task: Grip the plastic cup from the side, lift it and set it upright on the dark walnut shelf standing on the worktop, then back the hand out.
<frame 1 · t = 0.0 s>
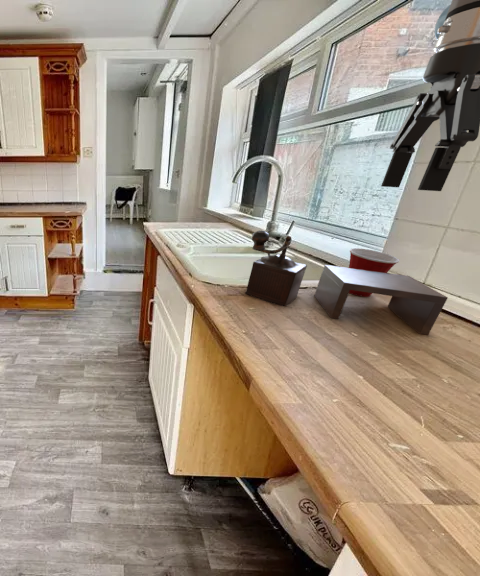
hand: (407, 188, 57), 29 cm above the countertop, tool pointing down, fingers open, 13 cm apart
plastic cup: (358, 294, 88), on the countertop
shelf: (364, 313, 76), on the countertop
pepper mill: (266, 298, 82), on the countertop
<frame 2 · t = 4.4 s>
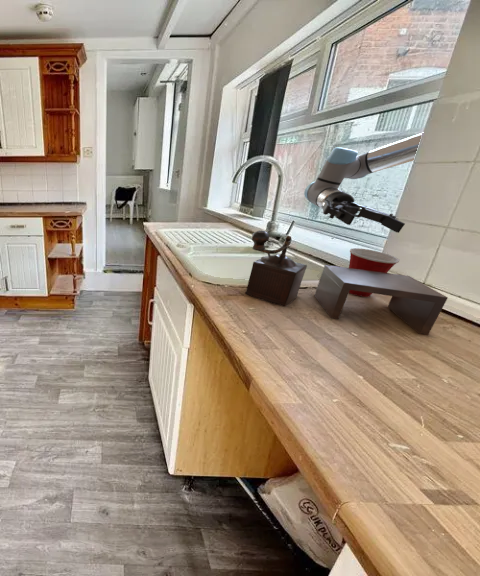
hand: (376, 224, 86), 19 cm above the countertop, tool horizontal, fingers open, 13 cm apart
nothing on the countertop moved.
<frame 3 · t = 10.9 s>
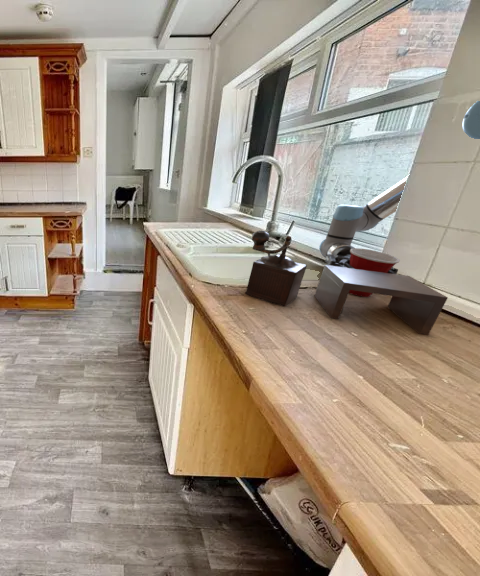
hand: (373, 277, 82), 7 cm above the countertop, tool horizontal, fingers closed on plastic cup, 9 cm apart
plastic cup: (358, 294, 88), on the countertop, touching gripper
everything else where it was.
when the fingers open (15 cm above the countertop, at t = 17.0 s): plastic cup stays where it is, resting on shelf.
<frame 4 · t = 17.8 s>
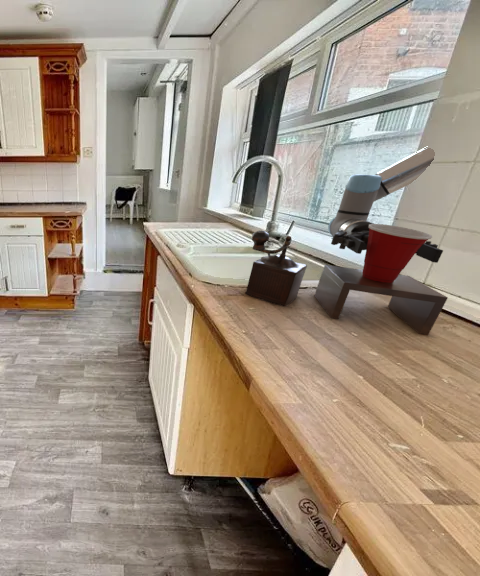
hand: (398, 252, 67), 16 cm above the countertop, tool horizontal, fingers open, 13 cm apart
plastic cup: (378, 279, 72), point 9 cm above the countertop, touching shelf
everything else where it was.
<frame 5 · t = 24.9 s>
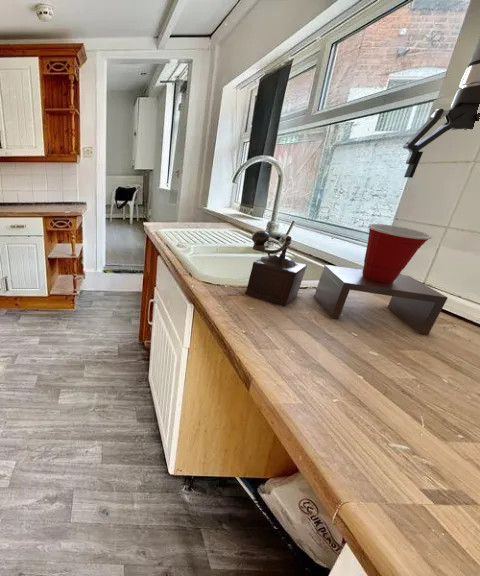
hand: (439, 179, 82), 32 cm above the countertop, tool pointing down, fingers open, 13 cm apart
nothing on the countertop moved.
at the end: plastic cup inside the target area on the shelf (0.0 cm from its centre), point 8.8 cm above the shelf's base; plastic cup tilted 0°; the gripper is holding nothing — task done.
